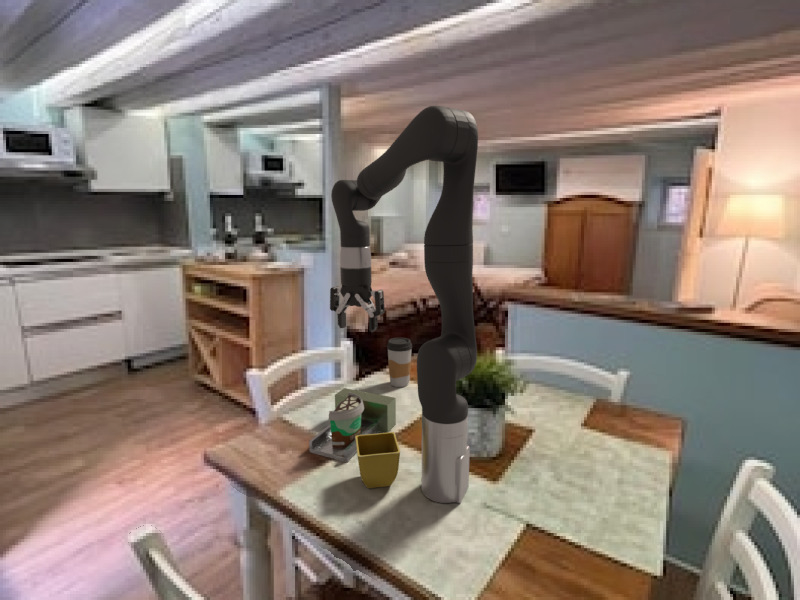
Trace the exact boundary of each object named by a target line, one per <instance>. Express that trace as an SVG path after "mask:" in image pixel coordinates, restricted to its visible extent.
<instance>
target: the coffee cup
mask: <svg viewBox="0 0 800 600" xmlns="http://www.w3.org/2000/svg"><path fill="white" fill-rule="evenodd" d="M386 348H387V357H388V361H387V364H388V371H389V373H388V374H389V383H390V384H391V386H393V387H395V388H405V387H407V386H408V385H409V384H410V378H411V377H410V375H411V367H412V365H411V364H412V349H413V343H412V342H411V339H410V338H406V337H393V338H390V339H389V340H388V341H387V345H386Z"/></svg>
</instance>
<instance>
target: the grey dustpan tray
mask: <svg viewBox="0 0 800 600" xmlns="http://www.w3.org/2000/svg"><path fill="white" fill-rule="evenodd" d="M348 392H349V393H354V394H357V395H358V396H360V397H361V399H362V401H363V404H364V411H363V412H362V413H361V430H360V435H367V434H376V433H377V434H379V432H380V433H383V432H384V433H388V432H392V430H393V429H394V428H395V427H394V426H395V425H396V426H397V424H396V423H397V414H396V413H397V412H396V411H397V407H396V406H397V405H396V399H397V398H396V397H394V396H388V395H383V394H377V393H372V392H367V391H366V392H365V391H362V390H357V389H351V388H346V387H345V388H342V389H341V390H339V391H338V392H337V393H335V394H334V410H335V409H336V408H337V406H338V405H339V404H340V403H341V402H342V401H344V400H345V399H346V398H347V397H348ZM393 427H394V428H393ZM392 428H393V429H392ZM391 429H392V430H391ZM308 443H309V453H311V454H314V455H319V456H322V457H325V458H326V457H327V458H329V457H330V459H333V458H334V460H338V461H341V462H345V463H348V462H349V461H351V459H353V458H354V457H355V456H356V454H357V447H356V439H355V440H354V441H353V442H352V443H351V444H350V445H349V446H348V447H345V448H333V447H332V437H331V426H330V424H328V425H327V426H326V427H325V428H323V429H322V430H320V432H318V434H316V435H315V436H313V437H312V438H311V439H310V440H308Z"/></svg>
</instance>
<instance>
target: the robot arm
mask: <svg viewBox="0 0 800 600" xmlns="http://www.w3.org/2000/svg"><path fill="white" fill-rule="evenodd" d="M478 145H479V130H478V125H477V121H476V119H475V117H474V116H473V114H471V113H470V112H468V111H467V110H463V109H459V108H454V107H448V106H441V105H429V106H427V107H425V108H424V109H422V110H421V111H420V112H419V113H417V114H416V115H415V117H414V118H413V119H411V121H409V123H408V125H407V126H406V127H405V128H404V130H402V132H401V133H400V134H399V135H398V136H397V138H396V139H395V140H394V141H393V142H392V143H391V145H390V146H389V147H388V148H387V149H386V151H384V153H382V154H381V155H380V156H379V157H378V158H377V159H375V160H374V161H373V162H371V163H370V164H369V165H367V166H366V167H365V168H363V169H362V170H361V171H360V172H359V173H358V175H357V178H356V180H355V179H353V180H352V179H340V180H338V181H336V182H335V183H334V184H333V186H332V189H331V195H330V196H331V202H332V206H333V210H334V213H335V216H336V219H337V224H338V227H339V231H340V233H339V234H340V235H339V236H340V251H339V252H340V253H339V267H340V269H339V270H340V284H341V287H339V286H338V285H335V286H333V287H330V290H329V292H330V293H329V310H330V311H332V312H333V311H334V312H335V313H336V314H337V325H338V326H339V329H344V328H346V327H347V312H346V310H347V309H348V307H353V306H354V307H358V308H362V309H363V310H364V311H365V312H366V314H367V315H368V330H369V332H370V333H373V332H375V331H376V330H377V329H378V327H379V326H378V317H379V316H381V315H383V314H384V313H386V311H385V310H386V308H385V296H384V295H385V294H384V290H383V289H379V290H373V289H372V281H373V279H372V252H371V246H370V245H371V239H370V238H371V237H370V236H371V235H370V234H371V233H370V232H371V231H370V225H369V224H368V223H367V222H366V221H363V220H358V219H356V217H355V215H354V212H361V211H368V210H370V209H373V208H375V207H376V205H377V204H378V203H379V202H380V200H381V198H382V197H383V196H385V195H387V194H388V193H390V192H391V191H392V190H394V189H395V188H397V187H398V186H399V185H400V184H401V182H403V180H404V178H405V176H406V173H407V170H408V168H410V167H412V166H414V165H416V164H419V163H421V162H425V161H431V162H440V163H442V164H443V165H442V166H443V177H442V178H443V179H442V180H443V181H442V182H443V183H442V188H441V189H442V190H441V195H440V198H439V199H438V202H437V204H436V206H435V209H434V210H433V212H432V214H431V217H430V219H429V221H428V223H427V226H426V228H425V231H424V237H423V244H424V245H423V248H424V249H423V254H424V255H423V256H424V257H423V258H424V260H423V261H424V270H425V274H426V278H427V279H428V282H429V284H430V286H431V288H432V290H433V292H434V294H435V297H436V299H437V301H438V303H439V306H440V311H441V333H440V334H441V335H440V336H438V337H435V338H432V339H429V340H428V341H425V342H424V343H423V344H422V345H421V346H420V348H419V349H418V352H417V358H416V376H417V377H416V379H417V382H416V383H417V395H418V400H419V404H420V406H421V481H420V482H421V492H422V494H423V495H424V496H425V497H426V498H427V499H429V500H431V501H432V502H436V503H441V504H450V503H451V504H452V503H458V504H461V503H462V500H463V499H464V498H465V494H466V493H467V490H468V489H469V486H470V485H469V483H470V482H469V481H470V480H469V479H470V456H471V455H470V453H471V452H470V451H471V450H470V449H471V447H470V445H468V422H469V419H468V417H469V404H468V401H467V400H466V398H464V396H463V395H460V394H458V393H457V382H458V381H460V380H462V379H463V378H466V377H467V376H468V375H470V374H471V373H472V372H473V371H474V369H475V367H476V366H477V361H478V360H477V358H478V350H477V348H478V346H477V339H476V328H475V320H474V295H473V294H474V290H473V284H474V283H473V274H474V273H473V270H474V268H473V266H474V236H473V235H474V233H473V232H474V230H473V225H474V224H473V222H474V221H473V220H474V219H473V218H474V190H475V189H474V187H475V178H476V168H477V160H478V159H477V157H478V148H479V147H478ZM340 296H342V300H341V301H340ZM372 297H373V300H374V302H373V300H372V299H371V298H372Z"/></svg>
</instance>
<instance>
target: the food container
mask: <svg viewBox="0 0 800 600" xmlns="http://www.w3.org/2000/svg"><path fill="white" fill-rule="evenodd" d="M363 411H364V404H363V401H362V399H361V397H360V396H358V395H357V394H354V393H349V392H348V397H347V398H346V399H345V400H344V401H342V402H341V403H340V404H339V405H338V406H337V408H336V409H335V408H334V410H329V411H328V412H329V413H328V421H329V425H330V426H331V437H332V447H333V448H345V447H348V446H349V445H350V444H351V443H352V442H353V441H354V440H355V436H357V435H360V430H361V413H362V412H363Z"/></svg>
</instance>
